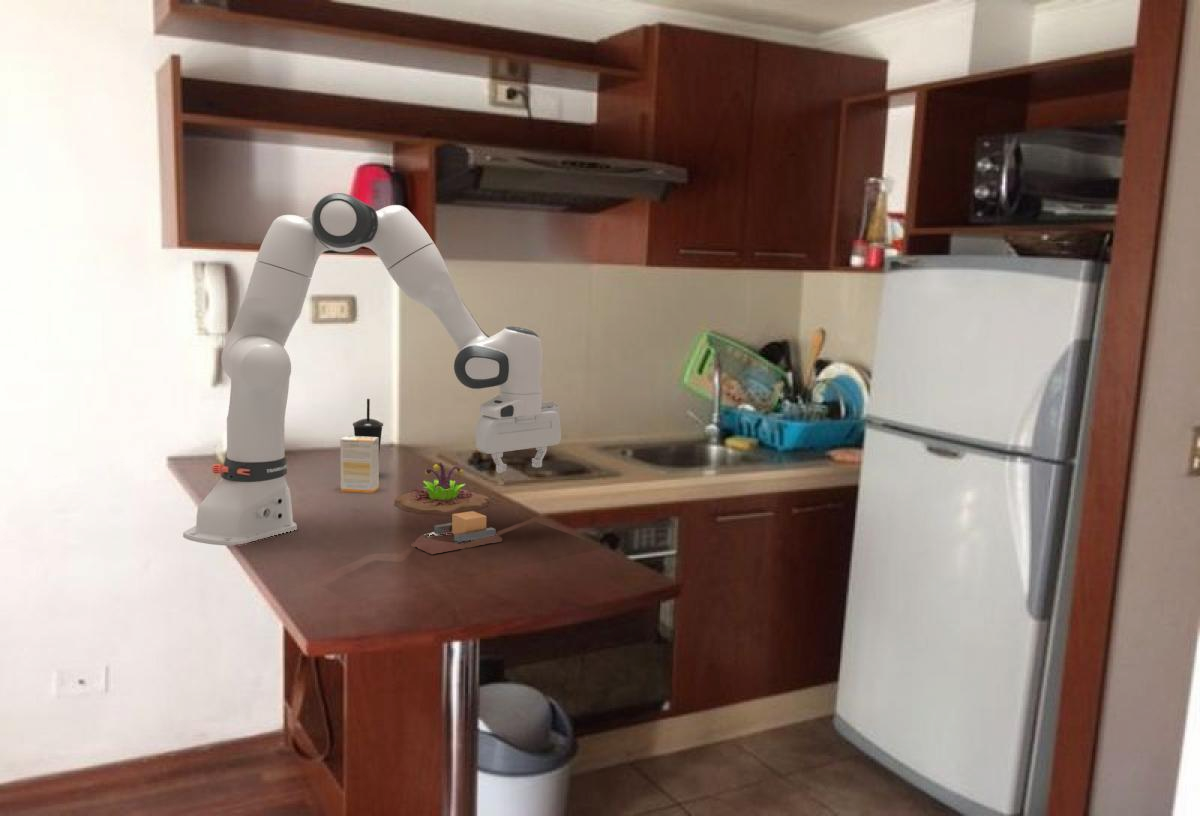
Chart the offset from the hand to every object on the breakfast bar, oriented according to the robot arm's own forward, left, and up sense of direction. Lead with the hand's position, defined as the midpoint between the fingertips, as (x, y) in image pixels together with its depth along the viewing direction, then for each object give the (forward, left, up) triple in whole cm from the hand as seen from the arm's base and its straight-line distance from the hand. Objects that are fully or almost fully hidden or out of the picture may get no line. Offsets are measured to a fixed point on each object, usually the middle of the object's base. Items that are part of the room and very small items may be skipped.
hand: (519, 469), depth 212 cm
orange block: (-11, +6, -12) cm, 17 cm away
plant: (+9, +23, -14) cm, 28 cm away
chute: (-19, +11, -13) cm, 25 cm away
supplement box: (+15, +48, -13) cm, 52 cm away
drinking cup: (+30, +55, -13) cm, 63 cm away
